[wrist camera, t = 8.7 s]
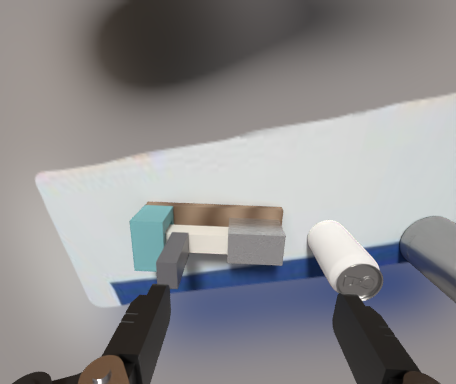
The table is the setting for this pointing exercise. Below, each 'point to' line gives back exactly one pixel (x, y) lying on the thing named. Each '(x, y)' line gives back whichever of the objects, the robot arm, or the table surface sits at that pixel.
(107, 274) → the table surface
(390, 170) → the table surface
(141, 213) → the socket
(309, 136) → the table surface
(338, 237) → the can
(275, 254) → the grey speckled block
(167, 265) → the sliding bolt
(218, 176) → the table surface
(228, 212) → the board
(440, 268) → the robot arm
